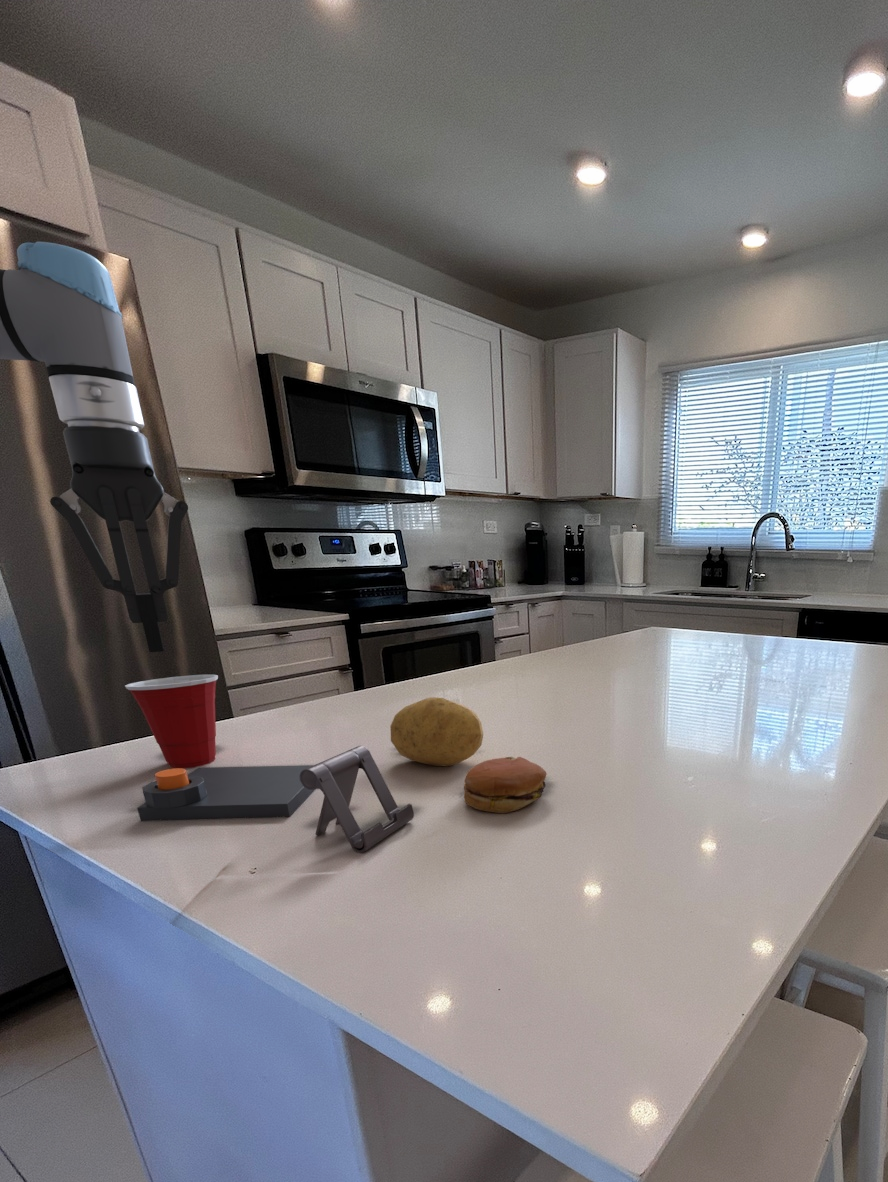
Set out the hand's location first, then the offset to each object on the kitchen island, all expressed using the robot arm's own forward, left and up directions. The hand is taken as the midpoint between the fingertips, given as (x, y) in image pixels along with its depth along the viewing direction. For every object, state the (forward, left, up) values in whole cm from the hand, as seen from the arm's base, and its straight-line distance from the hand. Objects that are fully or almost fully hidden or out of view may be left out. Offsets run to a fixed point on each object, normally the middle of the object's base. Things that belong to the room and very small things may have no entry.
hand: (156, 650), depth 79 cm
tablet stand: (+27, -19, -17) cm, 37 cm away
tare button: (+5, -11, -14) cm, 18 cm away
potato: (+32, +5, -17) cm, 36 cm away
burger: (+42, -10, -17) cm, 46 cm away
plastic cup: (-3, +8, -17) cm, 19 cm away
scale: (+10, -7, -17) cm, 21 cm away
